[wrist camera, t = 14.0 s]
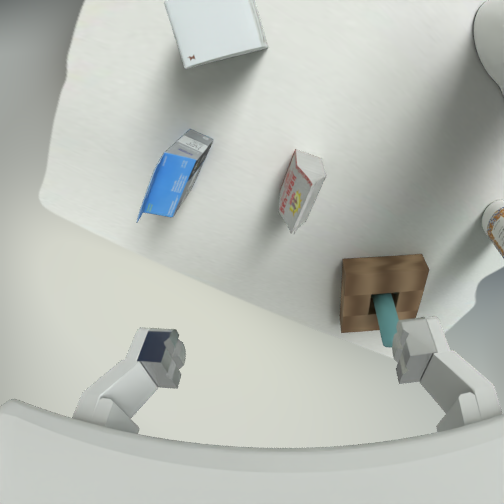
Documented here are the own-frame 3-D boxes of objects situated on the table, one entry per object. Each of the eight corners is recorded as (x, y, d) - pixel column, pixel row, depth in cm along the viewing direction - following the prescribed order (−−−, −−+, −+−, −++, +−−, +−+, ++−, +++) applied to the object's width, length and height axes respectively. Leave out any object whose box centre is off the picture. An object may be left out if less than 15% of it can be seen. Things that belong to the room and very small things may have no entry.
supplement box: (270, 48, 33) (263, 50, 23) (211, 62, 35) (182, 71, 25) (255, -4, 29) (243, -24, 19) (197, 11, 31) (160, 1, 21)
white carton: (321, 158, 41) (330, 190, 34) (304, 199, 46) (307, 239, 38) (295, 149, 41) (298, 179, 33) (279, 191, 45) (277, 230, 37)
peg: (389, 279, 53) (405, 332, 43) (387, 293, 55) (401, 346, 45) (371, 281, 53) (384, 334, 44) (369, 294, 55) (381, 348, 46)
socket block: (421, 254, 49) (429, 269, 46) (408, 311, 57) (412, 326, 54) (342, 258, 51) (345, 275, 48) (339, 316, 59) (341, 332, 56)
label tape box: (191, 190, 46) (165, 237, 37) (166, 178, 46) (134, 223, 36) (214, 138, 41) (190, 175, 32) (188, 126, 40) (155, 159, 31)
